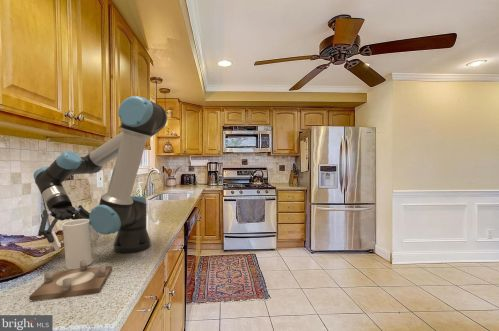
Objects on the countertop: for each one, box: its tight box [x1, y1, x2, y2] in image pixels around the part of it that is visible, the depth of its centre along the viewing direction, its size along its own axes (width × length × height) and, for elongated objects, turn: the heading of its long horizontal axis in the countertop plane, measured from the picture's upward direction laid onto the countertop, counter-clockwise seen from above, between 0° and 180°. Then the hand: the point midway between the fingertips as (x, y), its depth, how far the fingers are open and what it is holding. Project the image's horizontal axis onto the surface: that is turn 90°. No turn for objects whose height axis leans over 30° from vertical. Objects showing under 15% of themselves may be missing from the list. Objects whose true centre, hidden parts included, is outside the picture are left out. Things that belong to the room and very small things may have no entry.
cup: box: [62, 219, 93, 270], centre depth 96 cm, size 8×8×16 cm
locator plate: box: [28, 260, 113, 301], centre depth 82 cm, size 17×17×4 cm
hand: (79, 243), depth 97 cm, fingers open, 13 cm apart
